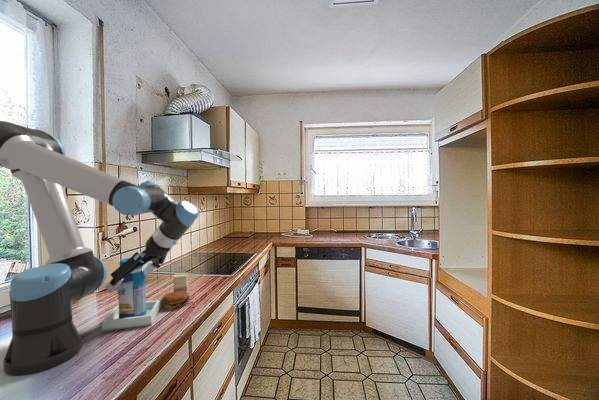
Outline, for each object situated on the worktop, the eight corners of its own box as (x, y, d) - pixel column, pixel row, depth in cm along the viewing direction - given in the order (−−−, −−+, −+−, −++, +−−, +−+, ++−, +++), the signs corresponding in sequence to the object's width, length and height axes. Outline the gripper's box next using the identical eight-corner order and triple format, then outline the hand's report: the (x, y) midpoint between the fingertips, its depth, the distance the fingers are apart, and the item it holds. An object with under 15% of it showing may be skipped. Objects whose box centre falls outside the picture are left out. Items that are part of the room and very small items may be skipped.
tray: (151, 324, 90) (151, 315, 90) (101, 331, 86) (101, 322, 86) (160, 307, 104) (160, 299, 104) (117, 313, 100) (117, 304, 100)
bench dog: (187, 297, 114) (186, 275, 113) (173, 298, 112) (173, 276, 112) (188, 293, 118) (187, 272, 118) (175, 294, 117) (175, 273, 117)
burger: (155, 308, 103) (155, 296, 103) (172, 299, 112) (172, 288, 112) (179, 311, 101) (178, 298, 101) (194, 301, 110) (194, 289, 110)
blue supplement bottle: (148, 318, 93) (146, 259, 93) (118, 325, 89) (116, 263, 88) (145, 310, 100) (144, 255, 100) (118, 316, 96) (116, 258, 95)
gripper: (139, 257, 78) (99, 306, 82) (193, 242, 103) (160, 279, 107) (123, 238, 80) (84, 287, 84) (180, 227, 104) (148, 265, 108)
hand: (126, 283), depth 95 cm, fingers open, 13 cm apart
